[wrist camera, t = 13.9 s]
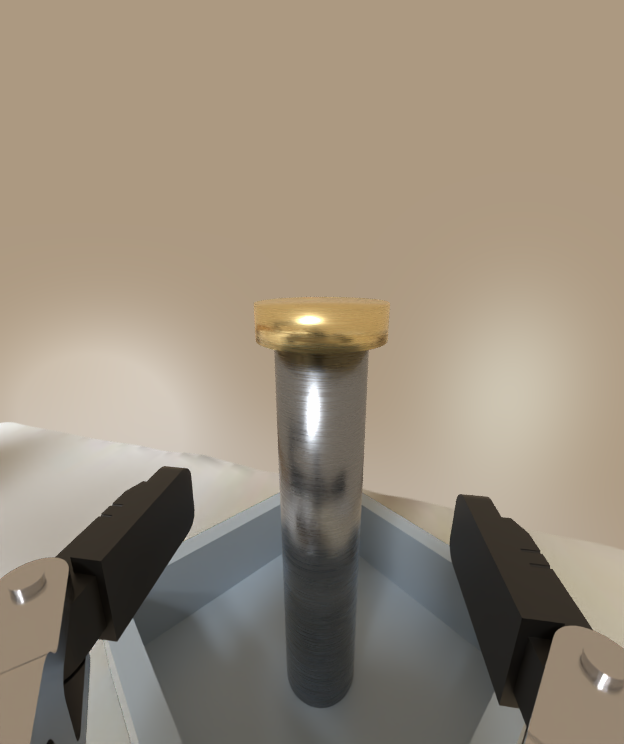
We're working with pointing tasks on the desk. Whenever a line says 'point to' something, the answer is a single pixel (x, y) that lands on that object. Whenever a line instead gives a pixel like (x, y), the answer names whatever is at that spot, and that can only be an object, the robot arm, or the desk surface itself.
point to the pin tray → (268, 646)
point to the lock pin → (321, 476)
